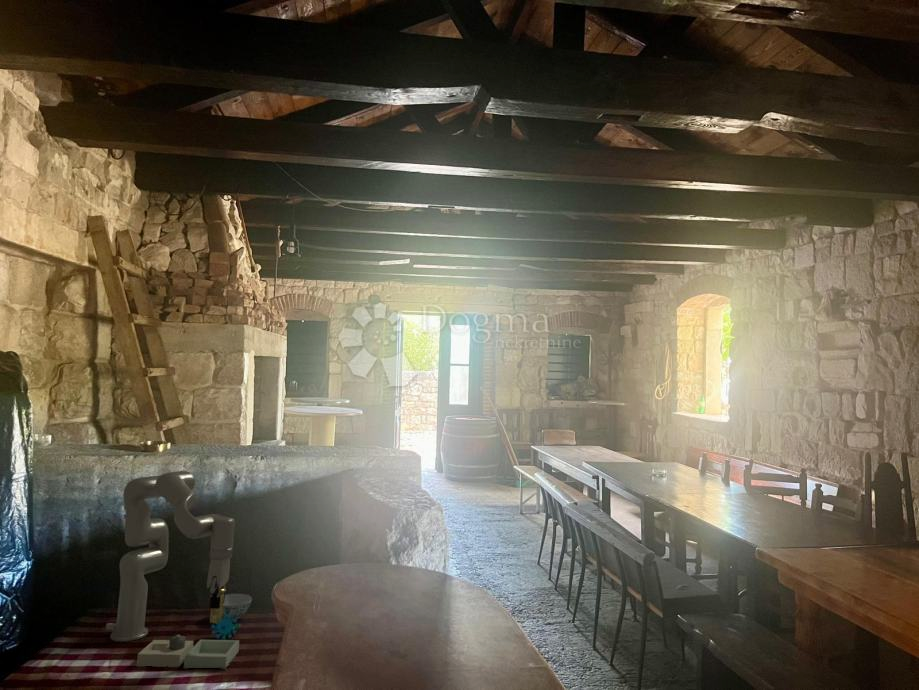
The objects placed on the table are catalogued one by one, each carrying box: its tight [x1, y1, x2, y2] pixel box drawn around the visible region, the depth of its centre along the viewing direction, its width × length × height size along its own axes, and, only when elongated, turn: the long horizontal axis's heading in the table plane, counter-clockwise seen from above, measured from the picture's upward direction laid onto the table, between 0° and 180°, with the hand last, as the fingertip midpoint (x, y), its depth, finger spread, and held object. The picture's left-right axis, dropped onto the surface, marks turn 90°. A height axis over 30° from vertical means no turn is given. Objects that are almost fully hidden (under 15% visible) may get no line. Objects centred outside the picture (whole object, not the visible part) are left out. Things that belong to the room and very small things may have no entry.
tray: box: [183, 639, 240, 670], centre depth 204 cm, size 14×14×4 cm
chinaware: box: [222, 593, 253, 621], centre depth 243 cm, size 15×15×8 cm
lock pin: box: [209, 586, 227, 624], centre depth 205 cm, size 5×5×11 cm
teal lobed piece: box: [210, 614, 242, 640], centre depth 225 cm, size 11×6×10 cm
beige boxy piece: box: [136, 634, 194, 668], centre depth 203 cm, size 14×12×8 cm
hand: (217, 605), depth 205 cm, fingers closed on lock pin, 4 cm apart
